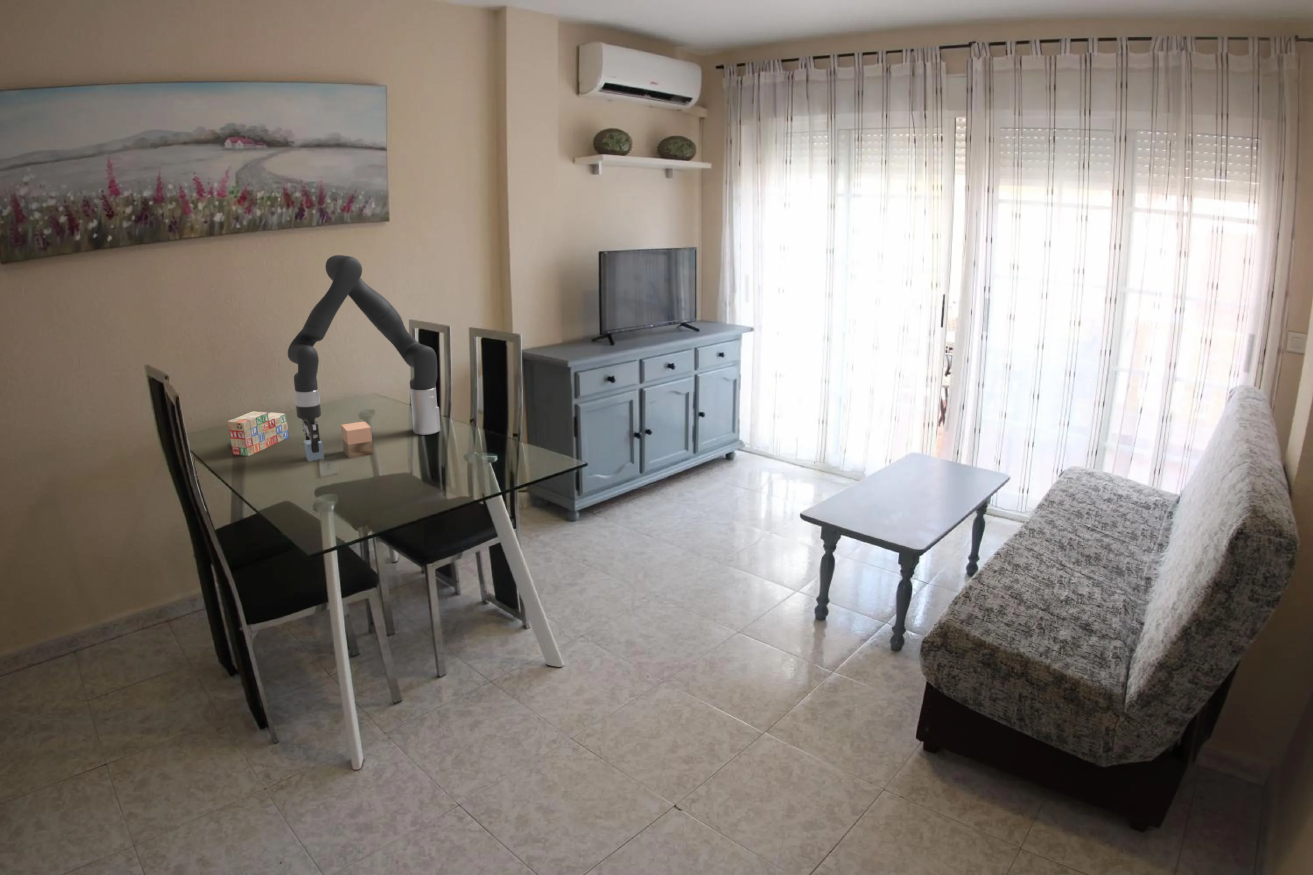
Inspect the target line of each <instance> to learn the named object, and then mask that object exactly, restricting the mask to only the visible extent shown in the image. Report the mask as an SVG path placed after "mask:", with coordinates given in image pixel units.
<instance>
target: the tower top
mask: <svg viewBox="0 0 1313 875" xmlns="http://www.w3.org/2000/svg"><path fill="white" fill-rule="evenodd" d="M340 430H341V438H342V439H343V440H344V441H345V442H346V443H347V444H348V445H351V444H357V443H364V442H370V441H372V442H373V437H372V428H371V426H370V425H369V424H368V423H367V422H366V421H359V422H350V423H345V424H344V423H343V424H341V425H340ZM343 440H342V441H343Z"/></svg>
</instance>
